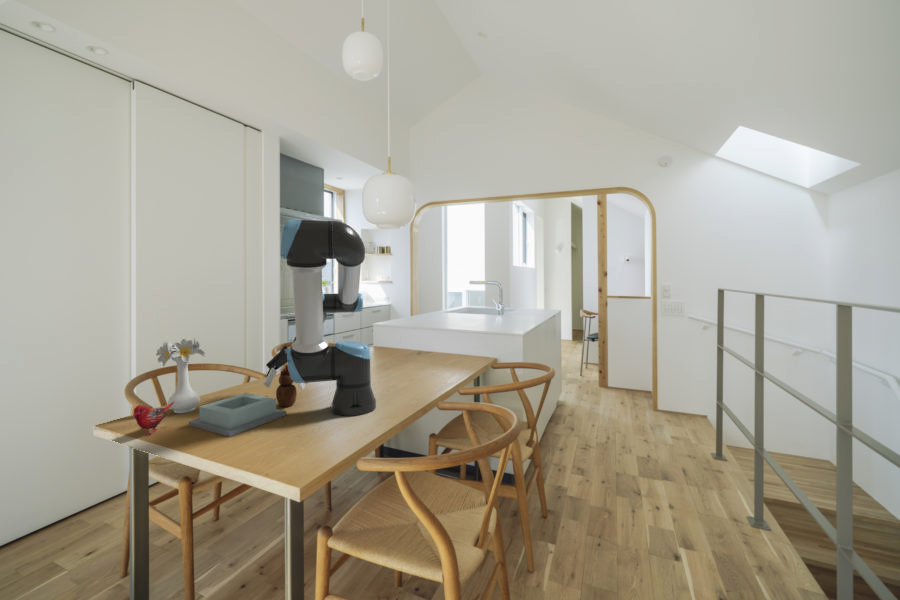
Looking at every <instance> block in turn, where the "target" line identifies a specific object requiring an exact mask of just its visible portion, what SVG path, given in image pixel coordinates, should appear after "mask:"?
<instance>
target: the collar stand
mask: <svg viewBox="0 0 900 600" xmlns="http://www.w3.org/2000/svg"><path fill="white" fill-rule="evenodd" d="M198 409H199V417H198V418H195V419H192V420H190V421H188V426H189V425H190V426H189V427H193V428H197V429H200V430H204V431H208V432H211V433H215V434H218V435H223V436H225V437H228V438H229V437H231V438H232V437H233V436H237V435H238V434H241V433H244V432H246V431H248V430H249V431H250V430H251V429H253V428H257V427H259V426H261V425H264V424H266V423H269V422H272V421H275V420H277V419H280V418H283V417H285V416H287V411H286V410H281V409H277V398H273V397H269V396H268V397H267V396H264V395H259V394H254V393H249V392H245V393H240V394H237V395H235V396H230V397H227V398H224V399H220V400H218V401H213V402H210V403H207V404H204V405H200V406H199V407H198ZM282 416H283V417H282ZM274 419H275V420H274Z"/></svg>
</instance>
